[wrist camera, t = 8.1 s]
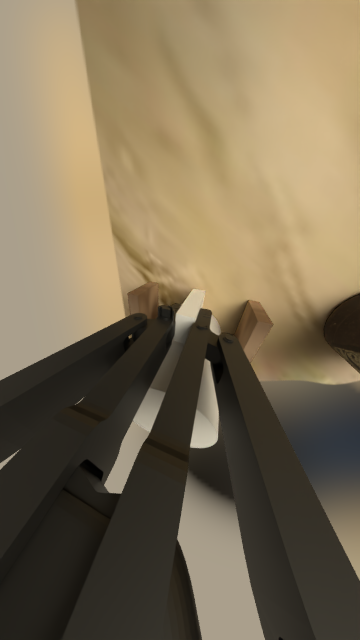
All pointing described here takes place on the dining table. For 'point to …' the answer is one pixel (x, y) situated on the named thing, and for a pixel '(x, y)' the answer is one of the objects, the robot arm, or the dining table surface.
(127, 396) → the robot arm
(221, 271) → the dining table surface
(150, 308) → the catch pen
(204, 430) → the white cylinder
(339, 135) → the dining table surface
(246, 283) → the dining table surface
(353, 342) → the container
